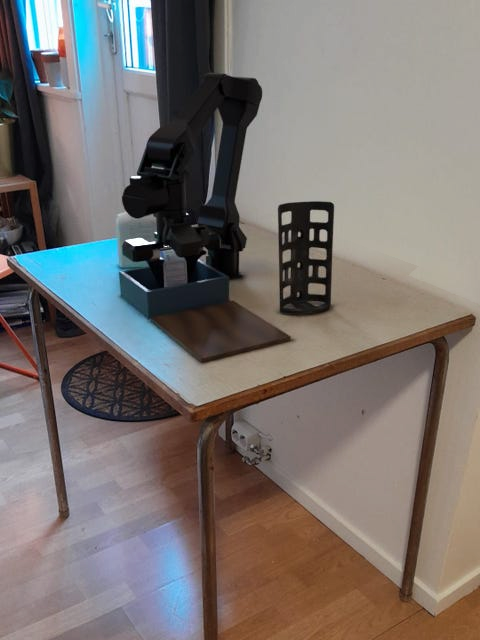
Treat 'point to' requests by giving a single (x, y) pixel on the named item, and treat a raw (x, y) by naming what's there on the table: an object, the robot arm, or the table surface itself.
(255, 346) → the board
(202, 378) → the table surface
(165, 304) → the tote
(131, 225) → the grey rounded block
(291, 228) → the holder
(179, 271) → the medicine box
